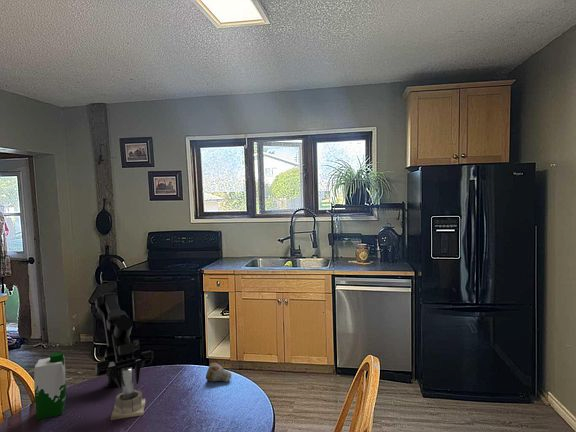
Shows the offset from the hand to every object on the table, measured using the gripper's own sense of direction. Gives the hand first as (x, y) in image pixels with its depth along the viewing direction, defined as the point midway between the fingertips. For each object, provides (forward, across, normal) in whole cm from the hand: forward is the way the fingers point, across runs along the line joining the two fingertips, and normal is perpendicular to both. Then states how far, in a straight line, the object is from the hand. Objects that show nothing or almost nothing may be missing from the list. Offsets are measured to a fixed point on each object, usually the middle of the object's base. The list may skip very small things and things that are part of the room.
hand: (129, 385), depth 131 cm
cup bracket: (+5, 0, +7) cm, 9 cm away
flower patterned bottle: (+4, +35, +10) cm, 37 cm away
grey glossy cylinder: (+5, 0, +7) cm, 8 cm away
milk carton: (-5, -23, +18) cm, 29 cm away
